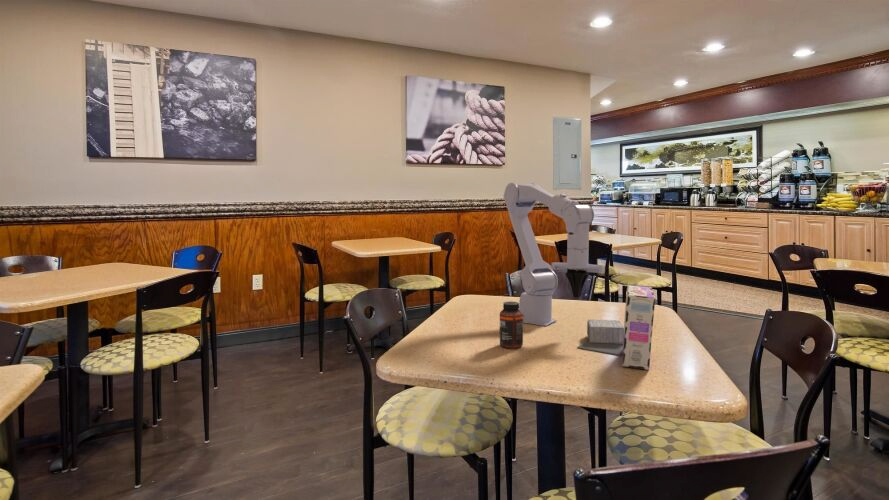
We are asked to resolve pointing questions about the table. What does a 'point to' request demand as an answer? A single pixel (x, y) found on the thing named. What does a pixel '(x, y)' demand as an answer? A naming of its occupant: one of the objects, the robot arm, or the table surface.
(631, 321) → the candy box
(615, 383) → the table surface
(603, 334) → the medicine box
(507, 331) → the supplement bottle
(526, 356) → the table surface
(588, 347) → the mat
